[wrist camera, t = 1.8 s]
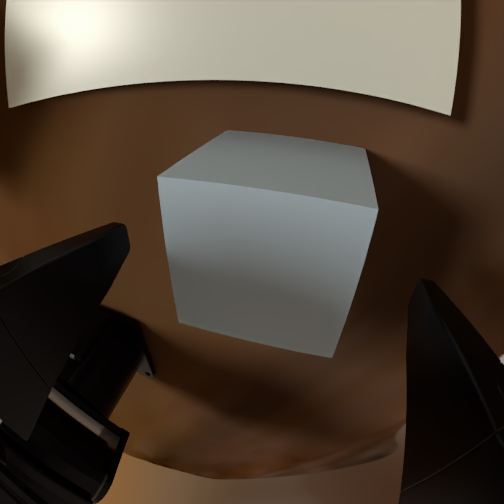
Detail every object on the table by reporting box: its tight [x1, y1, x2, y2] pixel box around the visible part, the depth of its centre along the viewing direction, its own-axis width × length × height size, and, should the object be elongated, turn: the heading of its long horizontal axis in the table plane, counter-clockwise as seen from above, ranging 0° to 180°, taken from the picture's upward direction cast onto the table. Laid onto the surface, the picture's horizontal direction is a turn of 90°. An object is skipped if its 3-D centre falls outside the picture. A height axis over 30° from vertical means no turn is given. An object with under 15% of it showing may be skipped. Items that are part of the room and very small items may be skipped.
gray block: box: [157, 130, 378, 358], centre depth 10 cm, size 5×5×5 cm
